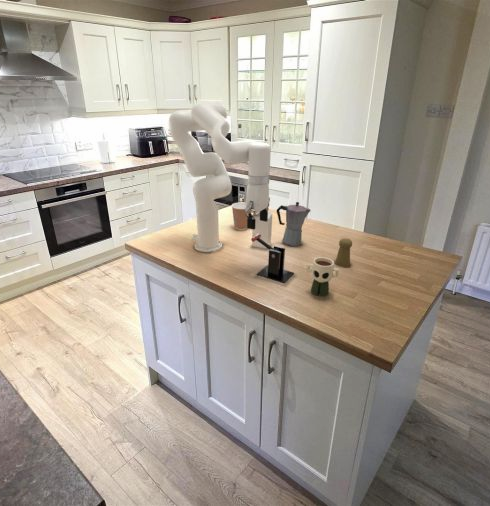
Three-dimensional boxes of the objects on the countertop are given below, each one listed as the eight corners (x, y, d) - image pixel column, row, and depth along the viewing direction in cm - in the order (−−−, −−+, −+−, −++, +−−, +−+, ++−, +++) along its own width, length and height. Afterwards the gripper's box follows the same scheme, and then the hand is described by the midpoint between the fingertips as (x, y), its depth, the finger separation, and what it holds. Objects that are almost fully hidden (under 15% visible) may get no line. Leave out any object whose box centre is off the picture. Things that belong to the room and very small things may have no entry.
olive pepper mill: (341, 268, 142) (345, 243, 138) (332, 261, 147) (335, 238, 143) (353, 265, 145) (357, 240, 140) (342, 259, 150) (346, 235, 145)
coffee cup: (233, 223, 187) (233, 201, 182) (252, 224, 186) (252, 202, 180) (229, 230, 178) (229, 207, 173) (249, 231, 177) (250, 209, 171)
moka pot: (308, 247, 160) (313, 205, 152) (275, 246, 161) (277, 205, 152) (305, 239, 169) (309, 199, 160) (274, 238, 169) (276, 198, 161)
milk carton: (270, 244, 163) (273, 205, 155) (266, 250, 157) (268, 210, 149) (256, 242, 165) (257, 203, 157) (251, 247, 159) (252, 208, 151)
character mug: (302, 295, 123) (305, 263, 118) (306, 286, 129) (309, 254, 124) (333, 302, 120) (338, 269, 114) (336, 292, 126) (341, 260, 120)
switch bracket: (256, 277, 135) (257, 249, 130) (267, 267, 142) (268, 241, 137) (284, 285, 129) (286, 257, 124) (294, 275, 136) (296, 248, 131)
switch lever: (250, 241, 133) (252, 236, 131) (256, 236, 136) (259, 232, 135) (275, 260, 130) (278, 255, 128) (281, 255, 134) (284, 250, 132)
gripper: (260, 173, 132) (259, 216, 140) (237, 183, 119) (237, 230, 126) (278, 176, 129) (276, 219, 136) (256, 186, 115) (255, 234, 123)
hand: (257, 224), depth 131 cm, fingers open, 9 cm apart
